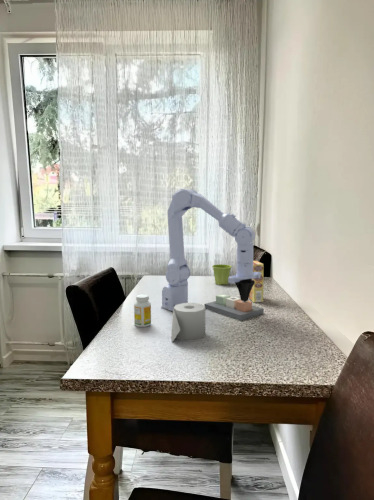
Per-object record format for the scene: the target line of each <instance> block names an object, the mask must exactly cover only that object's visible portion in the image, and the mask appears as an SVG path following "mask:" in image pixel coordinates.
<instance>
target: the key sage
mask: <svg viewBox="0 0 374 500" xmlns="http://www.w3.org/2000/svg"><path fill="white" fill-rule="evenodd" d="M230 297H231V295H227V294H224V293H222V294H217V295H216V296H215V301H216V304H219V305H223V306H224V305H226V298H230Z"/></svg>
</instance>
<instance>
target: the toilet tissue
mask: <svg viewBox="0 0 374 500" xmlns="http://www.w3.org/2000/svg"><path fill="white" fill-rule="evenodd" d="M205 336H206V309H205V306H204V304H202V303H197V302H196V303H195V302H188V303H182V304H177V305H175V306H174V308H173V311H172V324H171V336H170V337H171V338H170V340H171V342H172V343H173V342H174V341H175V339H177V340H181V341H187V342H189V341H190V342H191V341H192V342H193V341H199V340H201V339H204V338H205Z"/></svg>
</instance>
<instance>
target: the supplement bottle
mask: <svg viewBox="0 0 374 500" xmlns="http://www.w3.org/2000/svg"><path fill="white" fill-rule="evenodd" d="M149 299H150V296H149V295H148V294H145V293H144V294H143V293H142V294H137V295H136V297H135V300H136V301H135V302H134V305H133V310H134V311H133V313H134V315H133V317H134V326H135V327H139V328H146V327H149V326H151V324H152V304H151V302H150V301H149Z"/></svg>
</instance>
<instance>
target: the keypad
mask: <svg viewBox="0 0 374 500" xmlns="http://www.w3.org/2000/svg"><path fill="white" fill-rule="evenodd" d="M203 306H205V310H206V311H211V312H212V313H213V312H214V313H217V314H220V315H223V316H226V317H228V318H231V319H235V320H236V321H237V320H238V321H244V320H247V319H250V318H254V317H257V316H260V315H264V310H265V309H264V308H263V307H260V306H256V305H253V304H252V310H251V311H247V312H242V311H239V310H236V308H235V309H233V308H229V307H226V305H224V306H223V305H219V304H216V300H215V301H212V302H206V303H204V304H203Z"/></svg>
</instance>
